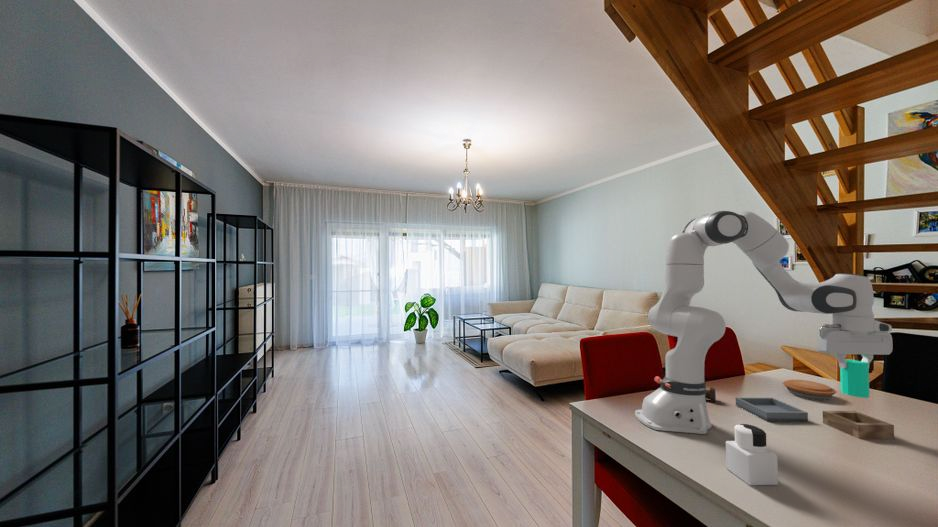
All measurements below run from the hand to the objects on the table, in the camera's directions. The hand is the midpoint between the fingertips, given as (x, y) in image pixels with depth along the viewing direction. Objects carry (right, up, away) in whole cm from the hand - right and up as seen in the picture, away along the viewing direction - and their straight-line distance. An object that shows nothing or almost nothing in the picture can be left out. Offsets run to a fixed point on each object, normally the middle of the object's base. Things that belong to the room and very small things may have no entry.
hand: (854, 368), depth 108 cm
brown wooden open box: (0, -20, -1) cm, 20 cm away
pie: (+16, -21, +30) cm, 40 cm away
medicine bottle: (-53, -19, -24) cm, 62 cm away
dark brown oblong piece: (-33, -21, +29) cm, 48 cm away
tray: (-15, -20, +13) cm, 28 cm away
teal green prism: (0, -9, 0) cm, 8 cm away
